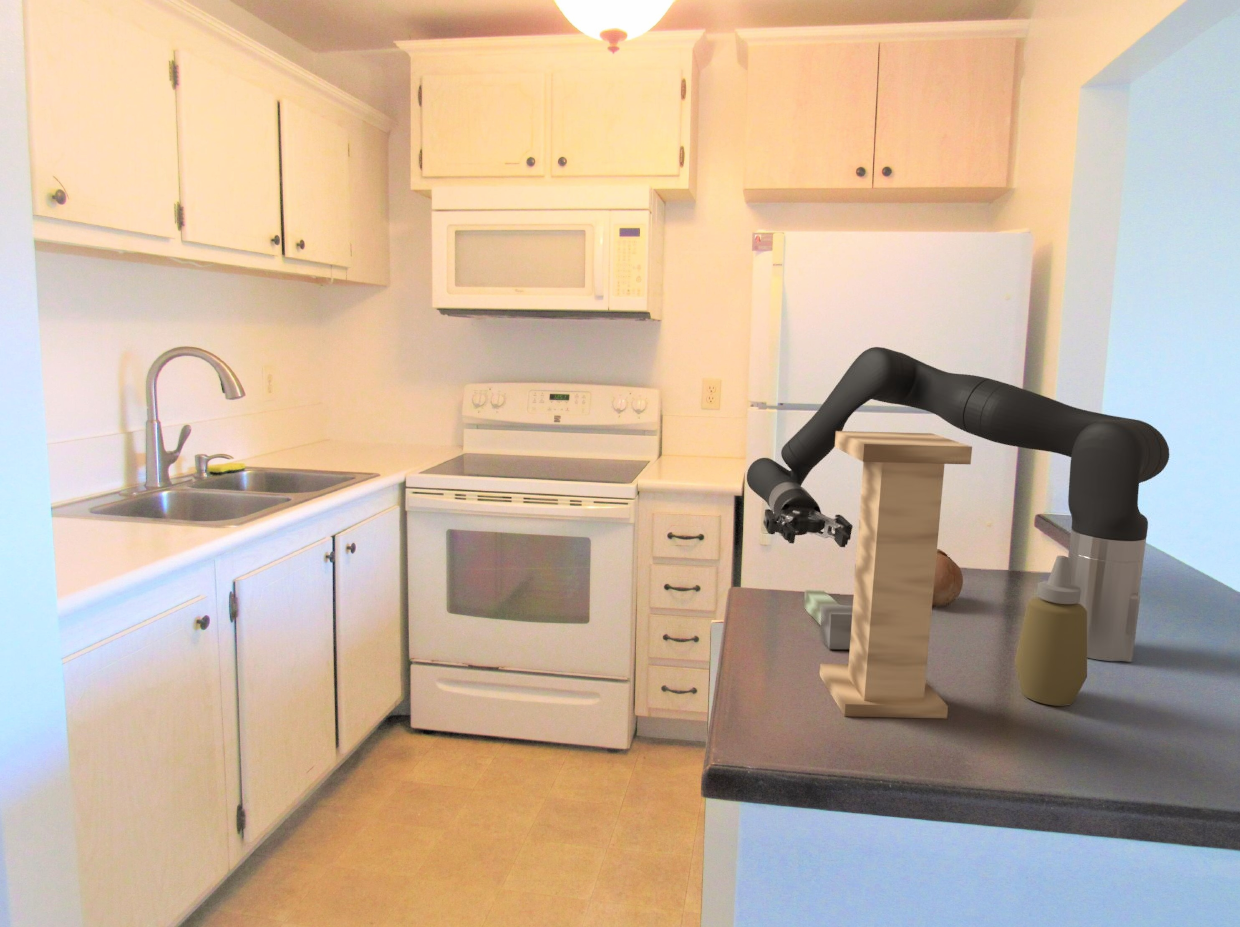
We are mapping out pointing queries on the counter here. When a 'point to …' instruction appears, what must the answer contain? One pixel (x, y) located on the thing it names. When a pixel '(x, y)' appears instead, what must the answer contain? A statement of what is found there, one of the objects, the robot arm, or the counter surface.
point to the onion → (946, 580)
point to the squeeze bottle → (1053, 641)
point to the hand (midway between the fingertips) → (818, 539)
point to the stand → (894, 574)
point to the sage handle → (830, 618)
